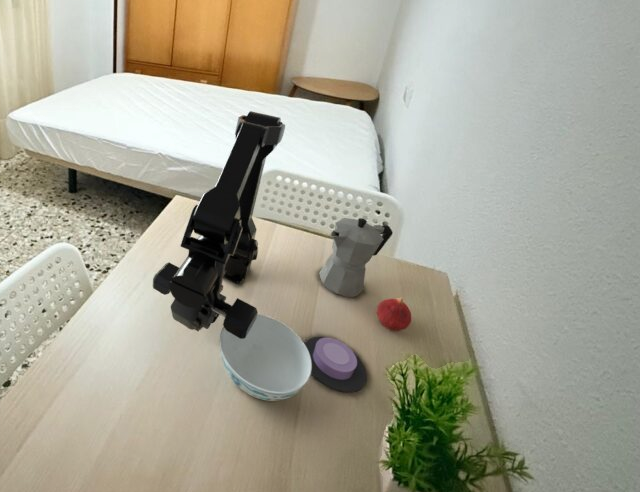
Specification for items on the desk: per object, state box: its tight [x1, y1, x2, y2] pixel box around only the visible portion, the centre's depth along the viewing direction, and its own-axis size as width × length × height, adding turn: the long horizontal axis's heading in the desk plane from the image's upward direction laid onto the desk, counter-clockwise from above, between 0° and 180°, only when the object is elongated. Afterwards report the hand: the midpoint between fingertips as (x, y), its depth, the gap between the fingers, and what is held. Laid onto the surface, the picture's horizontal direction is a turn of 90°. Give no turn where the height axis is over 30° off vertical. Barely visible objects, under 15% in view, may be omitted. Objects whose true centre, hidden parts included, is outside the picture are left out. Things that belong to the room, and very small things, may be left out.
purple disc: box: [313, 337, 357, 380], centre depth 74 cm, size 7×7×2 cm
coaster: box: [304, 336, 368, 393], centre depth 75 cm, size 11×11×1 cm
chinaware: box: [219, 313, 312, 402], centre depth 70 cm, size 15×15×8 cm
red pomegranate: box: [376, 296, 412, 332], centre depth 81 cm, size 6×6×8 cm
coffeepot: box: [319, 217, 393, 298], centre depth 90 cm, size 15×9×18 cm, turn 101°
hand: (197, 329), depth 77 cm, fingers closed
